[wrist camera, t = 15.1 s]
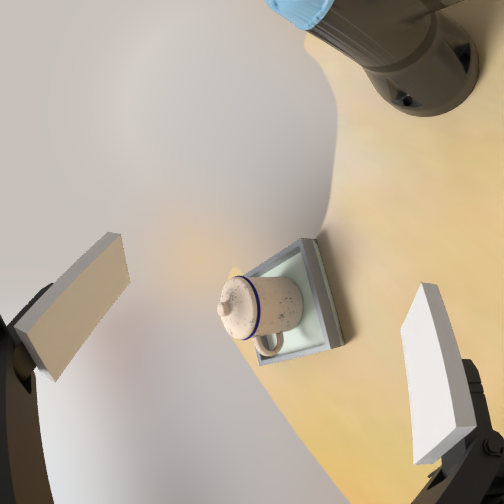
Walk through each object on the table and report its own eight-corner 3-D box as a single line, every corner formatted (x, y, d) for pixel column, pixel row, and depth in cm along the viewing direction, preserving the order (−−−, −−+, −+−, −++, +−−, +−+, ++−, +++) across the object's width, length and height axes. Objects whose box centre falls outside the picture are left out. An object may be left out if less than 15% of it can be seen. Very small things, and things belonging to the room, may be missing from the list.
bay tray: (254, 277, 58) (240, 277, 56) (315, 239, 46) (301, 238, 44) (273, 362, 53) (259, 365, 51) (345, 344, 41) (330, 349, 39)
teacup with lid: (261, 288, 55) (199, 290, 48) (294, 265, 48) (228, 264, 41) (279, 356, 50) (217, 368, 43) (318, 341, 44) (251, 356, 37)
